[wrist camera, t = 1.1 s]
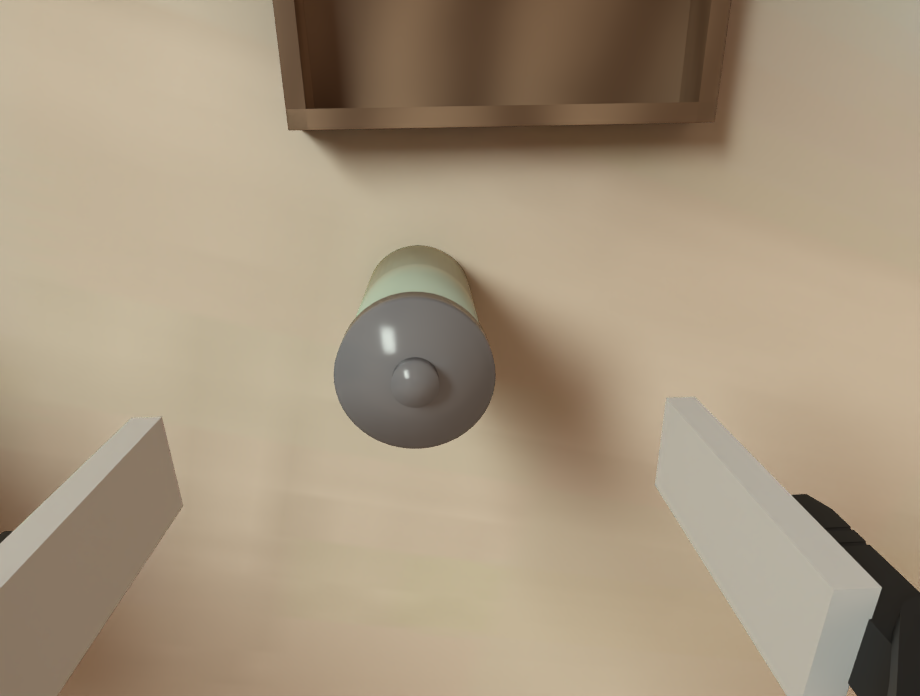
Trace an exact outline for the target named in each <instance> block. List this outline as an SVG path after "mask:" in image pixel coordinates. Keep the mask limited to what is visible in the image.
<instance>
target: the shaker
mask: <svg viewBox="0 0 920 696" xmlns="http://www.w3.org/2000/svg"><path fill="white" fill-rule="evenodd" d="M334 384H335V389H336V393H337V396H338V399H339V402H340V404H341V406H342V408H343V410H344V411H345V413H346V414H347V416H348V417H349V418H350V419H351V420H352V422H353V423H354V424H355V425H356V426H357V427H358V428H360V429H361V430H362V431H363V432H365V433H366V434H368V435H369V436H371V437H372V438H374V439H376V440H378V441H380V442H383V443H386V444H389V445H392V446H396V447H402V448H429V447H433V446H438V445H441V444H444V443H447V442H449V441H451V440H454V439H456V438H458V437H459V436H461V435H462V434H464V433H465V432H467V431H468V430H469V429H470V428H471V427H473V426H474V425H475V423H476V422H477V421H478V420H479V419H480V418H481V416H482V415H483V414H484V412H485V411H486V409H487V407H488V405H489V403H490V400H491V398H492V395H493V391H494V386H495V365H494V360H493V356H492V352H491V349H490V345H489V342H488V340H487V337H486V334H485V333H484V331H483V329H482V327H481V326H480V324H479V321H478V317H477V313H476V310H475V306H474V302H473V299H472V295H471V291H470V288H469V284H468V281H467V278H466V275H465V273H464V272H463V270H462V268H461V267H460V265H459V264H458V263H457V262H456V261H455V260H454V259H453V258H452V257H451V256H449V255H448V254H446V253H445V252H443V251H441V250H438V249H436V248H433V247H429V246H419V245H416V246H408V247H404V248H401V249H398V250H396V251H394V252H392V253H390V254H389V255H388V256H386V257H385V258H384V259H383V260H382V261H381V262H380V263H379V264H378V265H377V267H376V268H375V270H374V272H373V274H372V276H371V278H370V281H369V284H368V286H367V289H366V292H365V294H364V297H363V300H362V302H361V305H360V307H359V310H358V313H357V315H356V318H355V319H354V320H353V322H352V323H351V324H350V326H349V328H348V329H347V331H346V333H345V336H344V338H343V340H342V343H341V345H340V348H339V350H338V353H337V357H336V360H335V366H334Z"/></svg>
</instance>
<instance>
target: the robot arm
mask: <svg viewBox="0 0 920 696" xmlns="http://www.w3.org/2000/svg"><path fill="white" fill-rule="evenodd" d="M655 486H656V488H657V489H658V491H659V493H660V494H661V496H662V497H663V499H664V501H665V502H666V504H667V505H668V507H669V509H670V510H671V512H672V513H673V515H674V517H675V518H676V520H677V521H678V523H679V525H680V526H681V528H682V529H683V531H684V533H685V534H686V536H687V537H688V539H689V541H690V542H691V544H692V545H693V547H694V549H695V550H696V552H697V553H698V555H699V557H700V558H701V560H702V561H703V563H704V565H705V566H706V568H707V569H708V571H709V573H710V574H711V576H712V577H713V579H714V581H715V582H716V584H717V585H718V587H719V589H720V590H721V592H722V593H723V595H724V597H725V598H726V600H727V601H728V603H729V605H730V606H731V608H732V609H733V611H734V613H735V614H736V616H737V617H738V619H739V621H740V622H741V624H742V625H743V627H744V629H745V630H746V632H747V633H748V635H749V637H750V638H751V640H752V641H753V643H754V645H755V646H756V648H757V649H758V651H759V653H760V654H761V656H762V657H763V659H764V661H765V662H766V664H767V665H768V667H769V669H770V670H771V672H772V673H773V675H774V677H775V678H776V680H777V681H778V683H779V685H780V686H781V688H782V689H783V691H784V693H785V694H786V696H846V694H847V691H848V688H849V685H850V687H851V688H852V689H853V691H854V692H855V693H856V695H857V696H920V592H919V591H918V590H917V589H915V588H914V587H913V586H912V585H911V584H910V583H909V582H908V581H907V580H906V579H905V578H904V577H903V576H902V575H901V574H900V573H899V572H898V571H897V570H895V569H894V568H893V567H892V566H891V565H890V564H889V563H888V562H887V561H886V560H885V559H884V558H883V557H882V556H881V555H880V554H879V553H878V552H877V551H875V550H874V549H873V548H872V547H871V546H870V545H866V541H865V540H864V539H863V538H862V537H861V536H860V535H859V534H858V533H857V532H855V531H854V530H851V529H850V526H849V525H848V524H847V523H846V522H845V521H844V520H843V519H842V518H841V517H840V516H839V515H838V514H837V513H835V512H834V511H833V510H832V509H831V508H829V507H828V506H826V505H824V504H822V503H821V502H819V501H817V500H816V499H814V498H812V497H810V496H809V495H807V494H801V495H791V494H790V493H789V492H788V491H787V490H786V489H785V488H784V487H783V486H782V485H781V484H780V483H779V482H778V481H777V480H776V479H775V478H774V477H773V476H772V475H771V474H770V473H769V472H768V471H767V470H766V469H765V468H764V467H763V466H762V465H761V464H760V463H759V462H758V461H757V460H756V459H755V458H754V457H753V456H752V455H751V454H750V453H749V452H748V451H747V449H746V448H745V447H744V446H743V445H742V444H741V443H740V442H739V441H738V440H737V439H736V438H735V437H734V436H733V435H732V434H731V433H730V432H729V431H728V430H727V429H726V428H725V427H724V426H723V425H722V424H721V423H720V422H719V421H718V420H717V419H716V418H715V417H714V416H713V415H712V414H711V413H710V412H709V411H708V410H707V409H706V408H705V407H704V406H703V405H702V404H701V403H700V402H699V401H698V400H697V399H696V398H695V397H674V398H666V404H665V411H664V419H663V427H662V434H661V442H660V450H659V457H658V465H657V473H656V480H655ZM182 507H183V503H182V499H181V494H180V490H179V486H178V482H177V478H176V474H175V470H174V465H173V461H172V457H171V453H170V449H169V445H168V440H167V436H166V432H165V428H164V424H163V420H162V417H141V418H131V419H130V420H129V421H128V422H126V423H125V424H124V425H123V426H122V427H121V428H120V429H119V430H118V431H117V432H116V433H115V434H114V435H113V436H112V437H111V438H110V439H109V440H108V441H107V442H106V443H105V444H104V445H102V446H101V447H100V448H99V449H98V450H97V451H96V452H95V453H94V454H93V455H92V456H91V457H90V458H89V459H88V460H87V461H86V462H85V463H84V464H83V465H82V466H81V467H80V468H78V469H77V470H76V471H75V472H74V473H73V474H72V475H71V476H70V477H69V478H68V479H67V480H66V481H65V482H64V483H63V484H62V485H61V486H60V487H59V488H58V489H57V490H56V491H54V492H53V493H52V494H51V495H50V496H49V497H48V498H47V499H46V500H45V501H44V502H43V503H42V504H41V505H40V506H39V507H38V508H37V509H36V510H35V511H34V512H33V513H32V514H30V515H29V516H28V517H27V518H26V519H25V520H24V521H23V522H22V523H21V524H20V525H19V526H18V527H17V528H16V529H15V530H14V531H5V532H3V533H1V534H0V696H58V694H59V693H60V691H61V690H62V688H63V687H64V685H65V684H66V682H67V681H68V679H69V678H70V676H71V675H72V673H73V671H74V670H75V668H76V667H77V665H78V664H79V662H80V661H81V659H82V658H83V656H84V655H85V653H86V652H87V650H88V649H89V647H90V646H91V644H92V643H93V641H94V640H95V638H96V637H97V635H98V634H99V632H100V631H101V629H102V628H103V626H104V625H105V623H106V622H107V620H108V619H109V617H110V616H111V614H112V613H113V611H114V610H115V608H116V607H117V605H118V603H119V602H120V600H121V599H122V597H123V596H124V594H125V593H126V591H127V590H128V588H129V587H130V585H131V584H132V582H133V581H134V579H135V578H136V576H137V575H138V573H139V572H140V570H141V569H142V567H143V566H144V564H145V563H146V561H147V560H148V558H149V557H150V555H151V554H152V552H153V551H154V549H155V548H156V546H157V545H158V543H159V542H160V540H161V539H162V537H163V536H164V534H165V532H166V531H167V529H168V528H169V526H170V525H171V523H172V522H173V520H174V519H175V517H176V516H177V514H178V513H179V511H180V510H181V508H182Z"/></svg>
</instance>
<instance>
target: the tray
mask: <svg viewBox="0 0 920 696" xmlns="http://www.w3.org/2000/svg"><path fill="white" fill-rule="evenodd" d="M730 6H731V0H273V8H274V16H275V24H276V32H277V41H278V49H279V57H280V65H281V74H282V82H283V90H284V98H285V106H286V115H287V123H288V130H339V129H391V128H443V127H495V126H547V125H599V124H651V123H700V122H715V115H716V107H717V100H718V93H719V86H720V78H721V71H722V64H723V57H724V49H725V42H726V35H727V28H728V20H729V13H730Z"/></svg>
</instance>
